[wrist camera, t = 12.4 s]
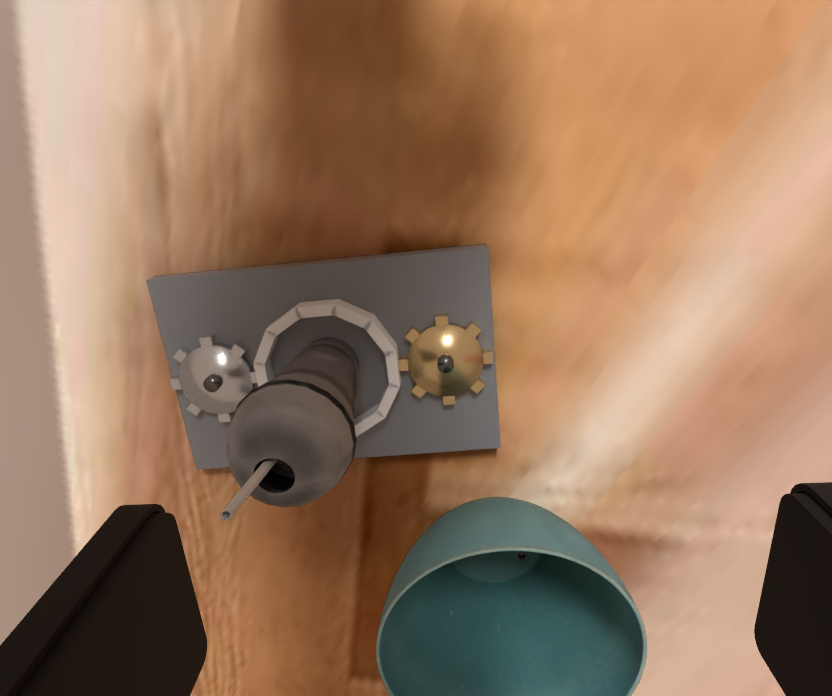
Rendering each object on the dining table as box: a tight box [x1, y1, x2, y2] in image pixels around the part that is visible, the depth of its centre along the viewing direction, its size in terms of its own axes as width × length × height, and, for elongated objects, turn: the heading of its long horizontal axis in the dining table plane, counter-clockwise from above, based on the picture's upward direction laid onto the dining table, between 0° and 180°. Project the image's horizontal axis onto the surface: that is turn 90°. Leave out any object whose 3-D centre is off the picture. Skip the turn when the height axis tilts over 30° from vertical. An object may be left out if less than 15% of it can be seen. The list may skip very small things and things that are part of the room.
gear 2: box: [398, 313, 493, 405], centre depth 42 cm, size 7×7×2 cm
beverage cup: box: [221, 337, 359, 520], centre depth 33 cm, size 7×7×20 cm
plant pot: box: [376, 497, 647, 696], centre depth 44 cm, size 18×18×12 cm
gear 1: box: [170, 334, 257, 422], centre depth 43 cm, size 7×7×2 cm
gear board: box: [146, 244, 500, 470], centre depth 43 cm, size 16×25×3 cm, turn 96°
